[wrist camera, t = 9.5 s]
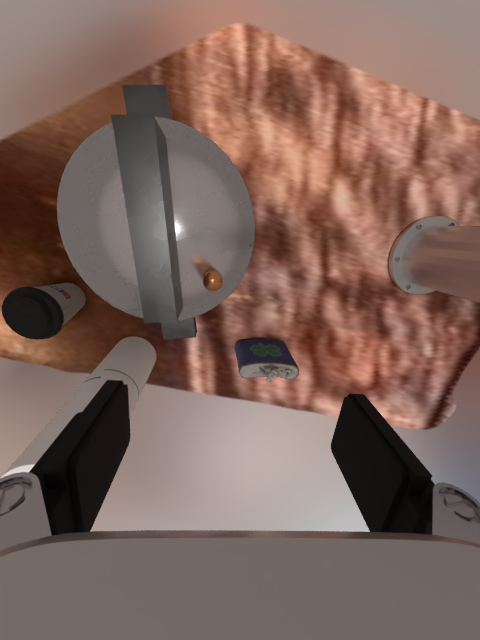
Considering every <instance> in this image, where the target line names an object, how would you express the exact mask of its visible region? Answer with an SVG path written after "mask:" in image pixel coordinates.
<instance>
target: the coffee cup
mask: <svg viewBox="0 0 480 640" xmlns="http://www.w3.org/2000/svg"><path fill="white" fill-rule="evenodd" d="M85 302H86V297H85V294H84V292H83V291H82V289H81V288H80V287H78V286H77V285H75V284H73V283H62V284H55V285H48V286H41V287H34V288H33V287H21V288H17V289H15V290H13V291H11V292H10V293H9V294H8V296H7V297H6V298H5V299H4V302H3V305H2V314H3V317H4V319H5V321H6V323H7V324H8V326H9V327H10V328H11V329H12V330H13V331H15V332H16V333H18V334H19V335H21V336H24V337H26V338H30V339H46V338H50V337H52V336H54V335H56V334H57V333H58V332H59V331H60V330H61V328H62V326H63V325H64V324H65V323H66V322H67V321H69V320H70V319H71V318H72V317H73V316H74V315H75V314H76V313H77V312H78V311H79V310H80V309H81V308H82V307H83V306H84V305H85Z"/></svg>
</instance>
